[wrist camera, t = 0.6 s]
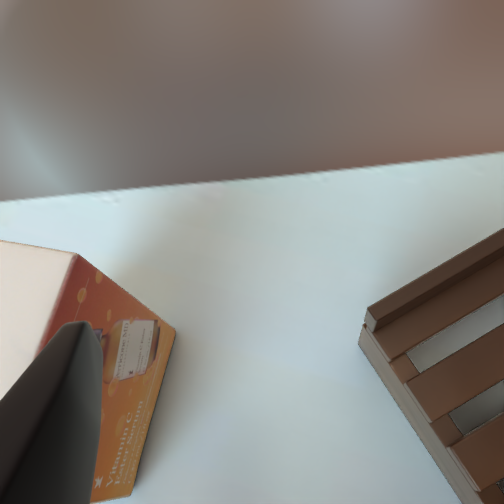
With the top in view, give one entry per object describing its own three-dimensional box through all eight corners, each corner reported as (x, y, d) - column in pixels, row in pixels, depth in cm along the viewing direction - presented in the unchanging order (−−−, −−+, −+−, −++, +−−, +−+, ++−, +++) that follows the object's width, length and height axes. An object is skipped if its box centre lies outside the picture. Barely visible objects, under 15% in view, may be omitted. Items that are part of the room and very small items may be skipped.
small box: (132, 498, 21) (-32, 541, 12) (27, 467, 22) (-200, 484, 13) (180, 327, 24) (79, 248, 14) (84, 309, 25) (-68, 224, 16)
